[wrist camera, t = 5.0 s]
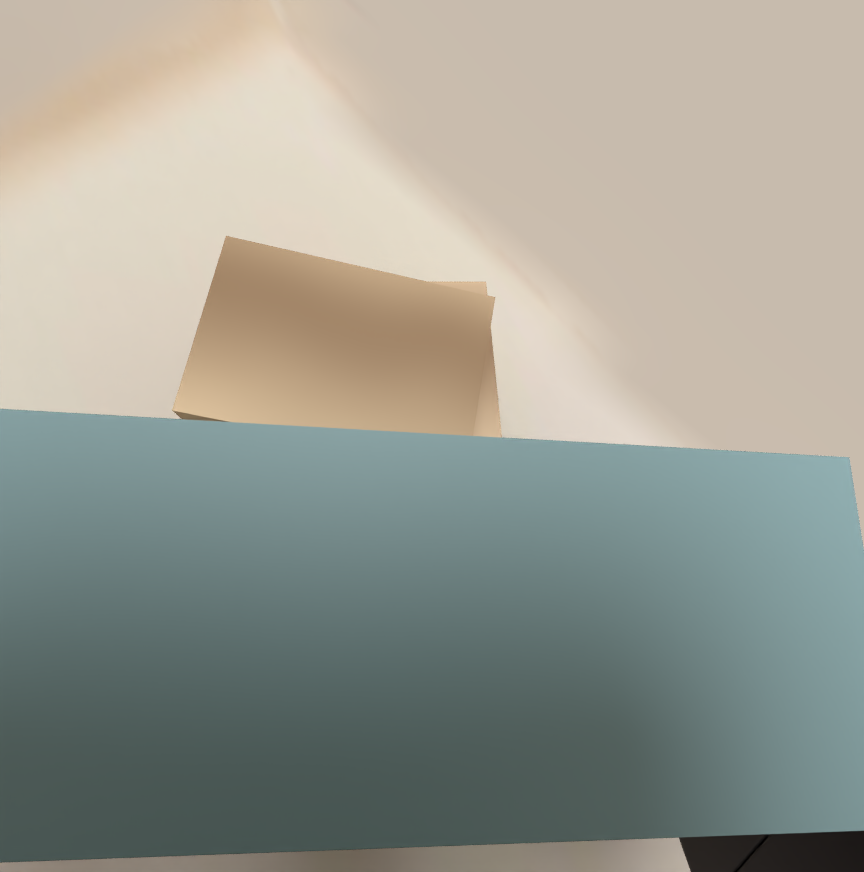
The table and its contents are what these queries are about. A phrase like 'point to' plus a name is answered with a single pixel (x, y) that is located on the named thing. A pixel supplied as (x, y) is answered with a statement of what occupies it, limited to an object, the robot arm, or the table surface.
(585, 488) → the teal rectangular block
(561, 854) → the table surface
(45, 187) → the table surface
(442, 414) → the offcut stack
